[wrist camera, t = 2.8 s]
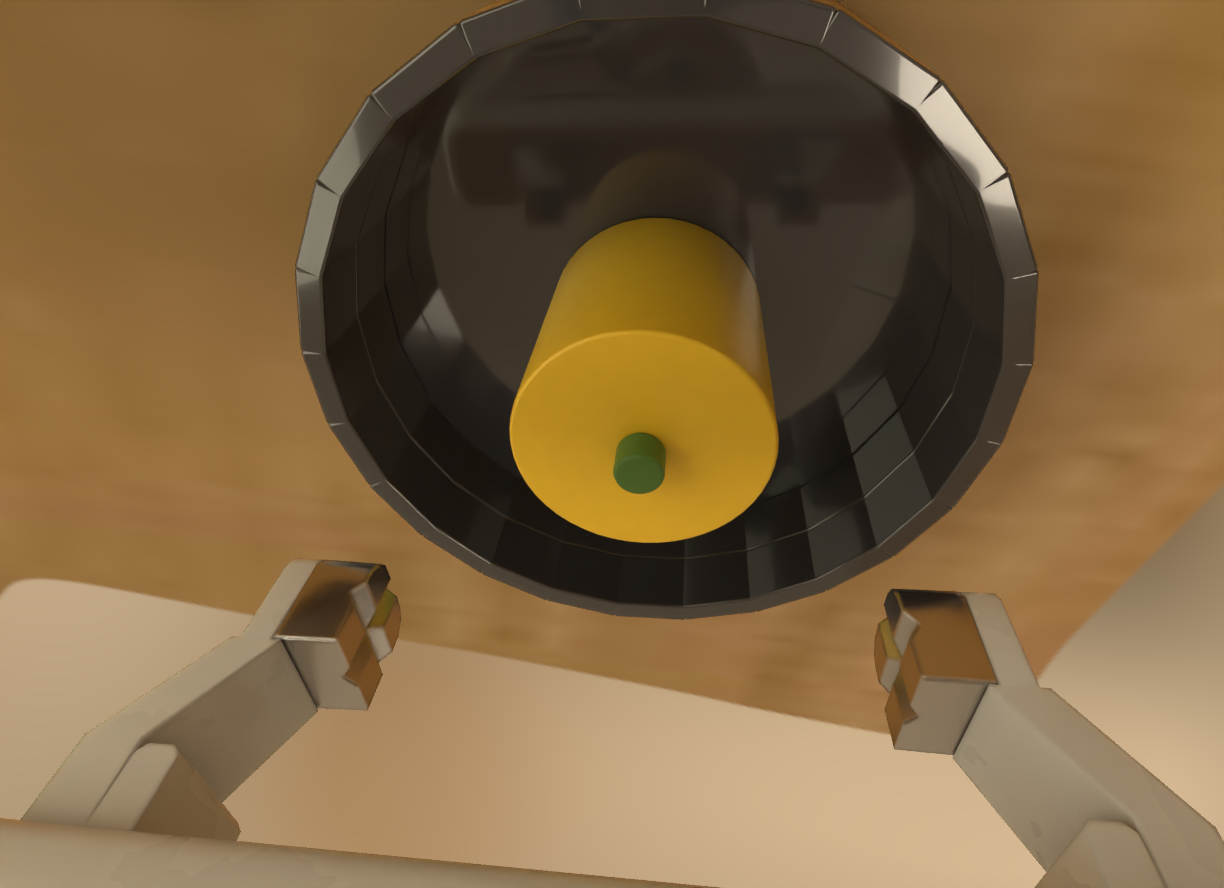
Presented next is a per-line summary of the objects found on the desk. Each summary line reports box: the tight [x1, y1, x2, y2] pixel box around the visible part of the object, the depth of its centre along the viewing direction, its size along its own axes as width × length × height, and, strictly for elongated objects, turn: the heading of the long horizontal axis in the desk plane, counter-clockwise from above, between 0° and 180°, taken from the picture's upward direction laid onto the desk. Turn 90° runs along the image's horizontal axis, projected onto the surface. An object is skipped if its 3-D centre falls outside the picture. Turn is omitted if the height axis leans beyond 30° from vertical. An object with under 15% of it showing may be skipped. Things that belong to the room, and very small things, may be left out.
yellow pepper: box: [509, 218, 779, 543], centre depth 16 cm, size 5×5×6 cm
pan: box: [295, 0, 1039, 620], centre depth 17 cm, size 16×16×4 cm
